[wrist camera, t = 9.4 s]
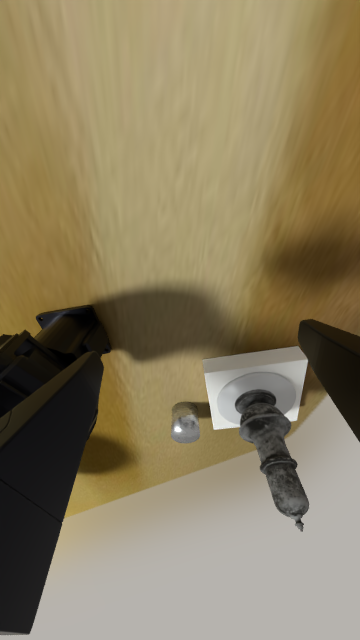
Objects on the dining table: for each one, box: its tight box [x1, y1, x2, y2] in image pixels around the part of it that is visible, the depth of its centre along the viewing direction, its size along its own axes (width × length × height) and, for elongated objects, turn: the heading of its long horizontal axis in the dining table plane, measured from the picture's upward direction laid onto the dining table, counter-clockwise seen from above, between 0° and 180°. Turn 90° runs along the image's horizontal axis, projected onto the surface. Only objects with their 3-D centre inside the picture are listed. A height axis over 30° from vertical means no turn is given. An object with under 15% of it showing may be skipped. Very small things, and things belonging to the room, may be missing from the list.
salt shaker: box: [235, 389, 309, 531], centre depth 22 cm, size 6×6×12 cm
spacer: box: [171, 402, 200, 443], centre depth 31 cm, size 4×4×4 cm
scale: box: [202, 346, 308, 430], centre depth 28 cm, size 12×13×3 cm
